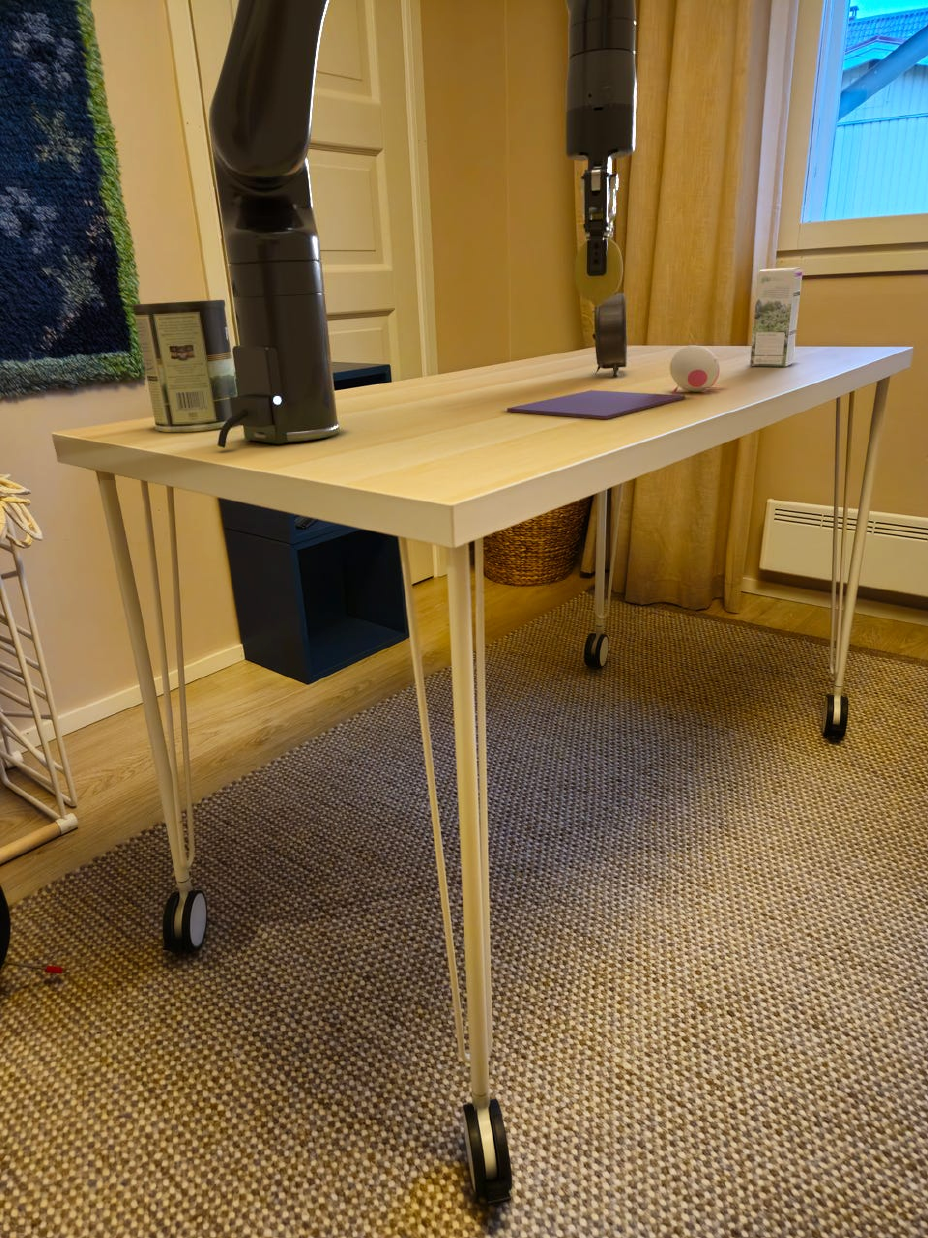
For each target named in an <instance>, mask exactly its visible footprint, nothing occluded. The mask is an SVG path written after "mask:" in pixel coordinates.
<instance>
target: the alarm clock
mask: <svg viewBox="0 0 928 1238" xmlns="http://www.w3.org/2000/svg"><path fill="white" fill-rule="evenodd" d="M626 306H627V305H626V294H625V293H624V292H622V293H615V294H614V295H613V296H612V297H610V298H609V299H607V300H606V301H605V302H604V303H603V304H602V305H601V306H600V307H595V306H594V308H593V309H594V310H592V313H593V315H594V318H593V320H594V333H592V334H591V335H592V336H591V337H592V338H593V340H594V345H595V346H594V347H595V359H596V364H597V370H596V371H595V373H594V375H596V374H598V372H599V370H601V369H603V370H607V369H608V370H609V369H612V372H613V374H612V377H613V378H617V377H618V374H617V372H618V371H619V370H620V368H626V367H627V365H628V362H627V361H628V358H627V357H628V349H627V348H628V345H627V344H628V342H627V340H628V339H627V314H626V313H627V308H626Z"/></svg>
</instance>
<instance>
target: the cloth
mask: <svg viewBox="0 0 928 1238" xmlns="http://www.w3.org/2000/svg"><path fill="white" fill-rule="evenodd" d="M685 399H686V395H685V394H684V395H683V394H665V393H647V392H632V391H631V392H630V391H629V392H628V391H614V390H613V391H612V390H611V391H610V390H595V389H593V390H592V389H591V390H586V391H581V392H576V393H571V394H567V395H562V396H557V397H553V398H549V399H543V400H540V401H535V402H530V403H526V404H521V405H517V406H512V407H507V409H506V412H508V413H520V414H521V413H522V414H531V415H532V414H533V415H546V416H557V417H572V418H581V419H582V418H583V419H594V420H610V419H614V418H616V417H620V416H624V415H628V414H632V413H635V412H639V411H643V410H647V409H651V408H655V407H658V406H662V405H666V404H670V403H674V402H678V401H681V400H685Z"/></svg>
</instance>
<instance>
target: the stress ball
mask: <svg viewBox="0 0 928 1238" xmlns="http://www.w3.org/2000/svg"><path fill="white" fill-rule="evenodd" d="M669 363H670V364H669V373H670V376H671V379H672V380H673V382H674V383H675V384H676V385H677V386H676V388H674V389H673V390H672V393H673V394H676V393H677V391H678V390H677V389H678V388H679V387H680V388H681V389H683V390H685V391H687V392H695V393H696V392H703V391H706V390H707V389H718V388H721V386H720V387H719V386H714V387H713V385H715V383H716V382H717V380H718V378H719V375H720V363H719V360H718V358H717V357H716V355H715V354H714V353H713V352H712V351H711V350H709V349H708V348H706V347H705V346H701V345H687V346H684V347H682V348H680V349H678V351H676V352H675V353H674V355H673V356H672V358H671V360H670V362H669Z"/></svg>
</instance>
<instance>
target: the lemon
mask: <svg viewBox="0 0 928 1238" xmlns="http://www.w3.org/2000/svg"><path fill="white" fill-rule="evenodd" d="M604 239H607V272H606V274H605V275H603V276H589V275H588V274H587V240H590V239H587V240H585V242H584V243H583V244H582V245H581V246H580V247H579V249H578V252H577V255H576V258H575V263H574V272H573V273H574V282H575V286H576V288H577V291H578V292H579V294H580V295H581V296H582V297H583V298H584V299H586V300H588V301H589V302H591V303H592V304H593V306H594V308H595V307H600V306H601V305H602V304H603V303H604V302H605V301H606V300H607V299H609V298H610V297H612V296H613V295H614V294H617V291H618V290H619V288H620V286H621V283H622V280H623V275H624V274H623V273H624V264H623V263H624V261H623V257H622V252H621V249H620V248H619V245H618V244H617V243H616V242H615V241H614V240H613V239H612V238H611V239H610V238H604Z"/></svg>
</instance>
